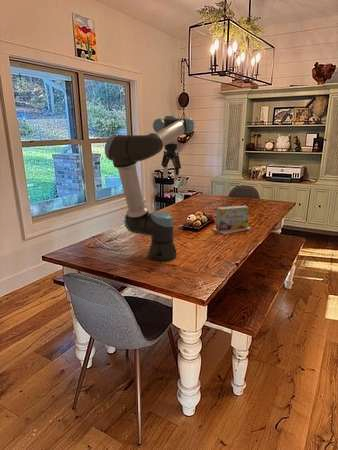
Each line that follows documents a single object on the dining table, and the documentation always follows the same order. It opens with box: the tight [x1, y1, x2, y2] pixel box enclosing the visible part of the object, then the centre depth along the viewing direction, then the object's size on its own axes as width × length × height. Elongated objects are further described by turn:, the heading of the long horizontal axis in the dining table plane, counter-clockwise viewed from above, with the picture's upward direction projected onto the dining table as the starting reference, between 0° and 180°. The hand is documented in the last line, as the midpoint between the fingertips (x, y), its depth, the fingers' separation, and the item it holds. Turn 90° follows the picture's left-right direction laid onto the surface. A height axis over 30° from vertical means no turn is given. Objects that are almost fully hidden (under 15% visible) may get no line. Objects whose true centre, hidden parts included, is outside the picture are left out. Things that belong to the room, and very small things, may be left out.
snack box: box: [215, 205, 250, 231], centre depth 212 cm, size 21×6×15 cm, turn 108°
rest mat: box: [210, 225, 253, 236], centre depth 214 cm, size 12×26×1 cm, turn 120°
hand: (170, 178), depth 194 cm, fingers open, 13 cm apart
